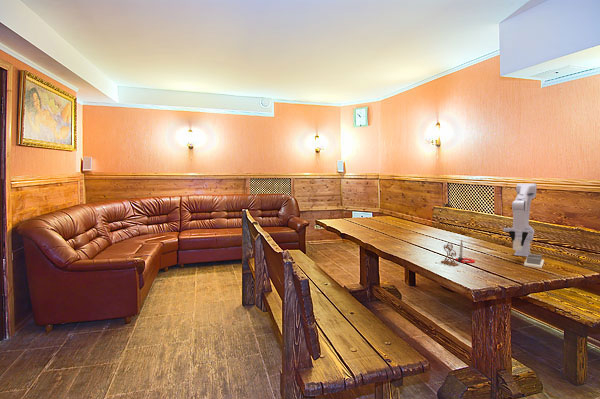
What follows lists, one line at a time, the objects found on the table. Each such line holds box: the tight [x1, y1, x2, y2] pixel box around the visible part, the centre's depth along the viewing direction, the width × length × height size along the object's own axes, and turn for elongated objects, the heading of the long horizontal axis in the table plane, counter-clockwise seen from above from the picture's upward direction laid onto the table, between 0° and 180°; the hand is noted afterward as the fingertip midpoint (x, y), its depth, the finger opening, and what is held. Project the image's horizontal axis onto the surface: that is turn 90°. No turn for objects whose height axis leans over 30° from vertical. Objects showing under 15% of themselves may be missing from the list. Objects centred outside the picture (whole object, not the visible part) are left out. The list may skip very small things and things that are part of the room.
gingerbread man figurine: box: [440, 242, 460, 267], centre depth 183 cm, size 9×4×12 cm, turn 26°
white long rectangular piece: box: [512, 237, 523, 251], centre depth 185 cm, size 12×4×5 cm, turn 140°
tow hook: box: [454, 239, 476, 264], centre depth 188 cm, size 8×13×9 cm
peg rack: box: [523, 253, 545, 269], centre depth 181 cm, size 16×8×4 cm, turn 140°
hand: (518, 245), depth 185 cm, fingers closed on white long rectangular piece, 3 cm apart
